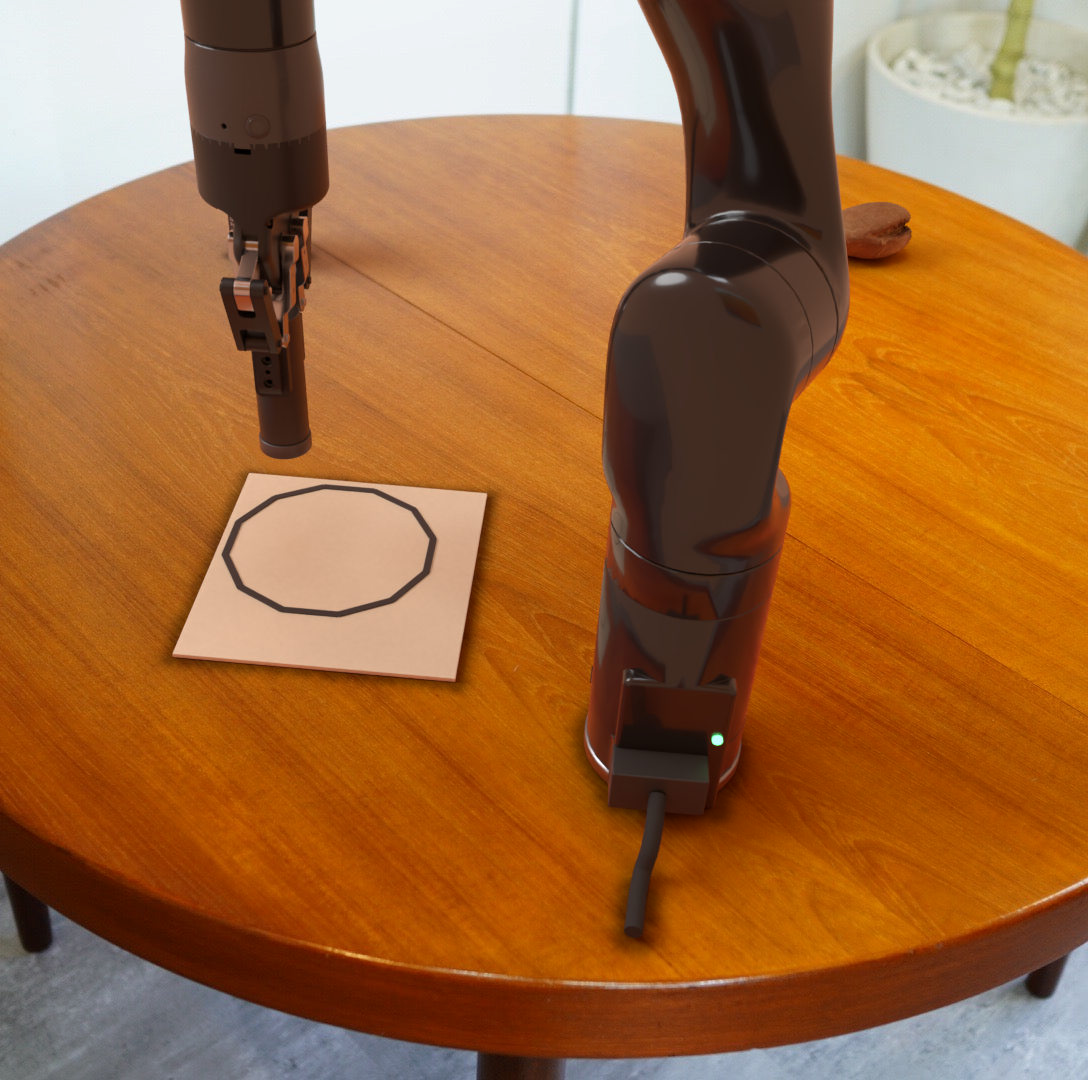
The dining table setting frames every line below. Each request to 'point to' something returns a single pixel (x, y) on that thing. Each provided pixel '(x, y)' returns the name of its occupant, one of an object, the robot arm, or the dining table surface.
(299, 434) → the stamp
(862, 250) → the chocolate macaron
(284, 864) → the dining table surface
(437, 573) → the drawing sheet
